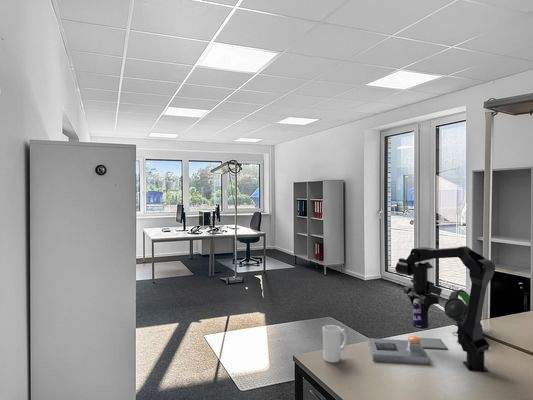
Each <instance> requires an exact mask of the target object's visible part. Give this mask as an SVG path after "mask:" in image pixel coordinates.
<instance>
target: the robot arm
mask: <svg viewBox="0 0 533 400" xmlns="http://www.w3.org/2000/svg"><path fill="white" fill-rule="evenodd" d="M409 253H410V254H409V255H408V257H407V258H402V257H401V258H398V261H397V262H396V265H395V268H394V269H395V272H396V273H397V274H398V275H404V276H408V277H412V278H411V279H410V282H411V283H412V286H410V285H409V286H407V285H406V286H404V288H403V294H405V295H406V296H407V299H408V300H409V302H410V304H411V306H412V307H413V301H414V299H415V298H420V301H418V304H419V308H420V311H421V314H422V317H423V318H426V316H427V313H428V314H429V309H430V307H431V306H432V305H439V304H440V298H439V297H441V294H442V292H443V288H441V287H439V286H438V285H435V283H434V282H432V281H430V280H429V279H428V278H429V276H428V274H429V272H428V271H429V269H433V268H434V266H433V265H432V264H430V262H429V261H430V260H434V259H451V258H458V259H459V260H461V262H462V264H463V265H464V267H465V268H467V269H468V271H469V272H468V273H469V279H470V282H471V287H470V292H469V296H470V297H469V303H468V308H467V314H466V319H465V321H464V322H460V323H458V326H457V331H456V333H455V335H457V340H459V341H460V346H461V349H462V351H463V352H466V360H465V361H464V360H463V361H462V362H463V364H464V366H465V367H466V368H467V370H469V371H471V372H488V373H489V369H488V367H487V366H486V365H485V361H486V360H485V359H486V358H485V351H488V350H489V348H490V346H491V345H490V344H489V342H488V341H487V339H485V337H484V335H483V334H484V331H483V326H481V325H482V323H481V321H482V315H483V314H482V313H483V310H484V309H483V308H484V303H485V298H486V293H487V287H488V284H489V283H490V281H491V280H492V278H493V276H494V274H495V271H496V265H495V264H494V262H493V261H492V260H490V259H487V258H485V257H484V256H483V255H482V254H480V253H477V252H476V251H474V250H473V249H471V248H470V247H469V246H465V245H464V246H458V247H445V248H444V247H443V248H433V247H427V246H422V247H413V248H412V249H411V250H410V252H409Z"/></svg>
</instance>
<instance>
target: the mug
mask: <svg viewBox="0 0 533 400" xmlns="http://www.w3.org/2000/svg"><path fill="white" fill-rule="evenodd" d="M341 334H342V335H343V339H344V340H343V342H342V345H341ZM347 342H348V336H347V333H346V329H345V328H341V327H340V326H337V325H334V324H327V325H324V326H322V352H323V360H324V361H326V362H327V363H332V364H333V363H338V362H340V360H341V351H345V348H346V345H347Z"/></svg>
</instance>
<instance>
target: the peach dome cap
mask: <svg viewBox="0 0 533 400" xmlns="http://www.w3.org/2000/svg"><path fill="white" fill-rule="evenodd" d="M420 338H421V337H418V336H416V335H410V336H408V338H407V340H408V342H409V343H411V344H420Z"/></svg>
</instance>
